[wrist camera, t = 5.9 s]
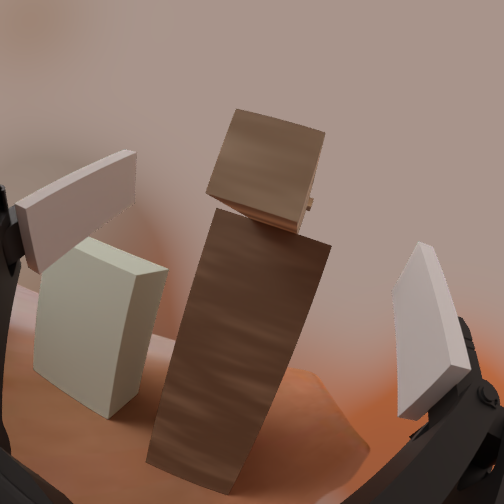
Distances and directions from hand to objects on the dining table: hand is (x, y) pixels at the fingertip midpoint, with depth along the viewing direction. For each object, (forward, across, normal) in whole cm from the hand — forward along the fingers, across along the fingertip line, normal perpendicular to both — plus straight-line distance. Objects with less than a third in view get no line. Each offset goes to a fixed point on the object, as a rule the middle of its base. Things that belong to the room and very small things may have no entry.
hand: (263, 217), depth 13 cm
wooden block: (+2, -1, -35) cm, 35 cm away
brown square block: (+13, -1, -7) cm, 15 cm away
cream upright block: (+3, -20, -35) cm, 41 cm away
